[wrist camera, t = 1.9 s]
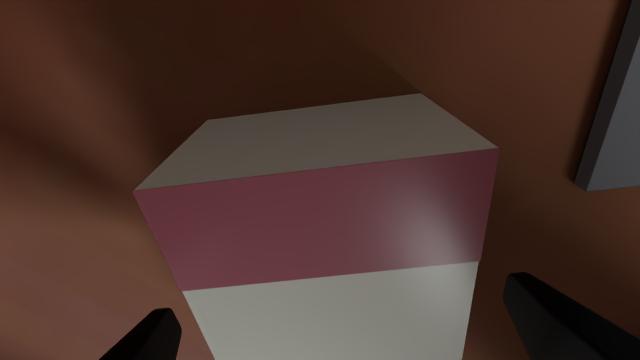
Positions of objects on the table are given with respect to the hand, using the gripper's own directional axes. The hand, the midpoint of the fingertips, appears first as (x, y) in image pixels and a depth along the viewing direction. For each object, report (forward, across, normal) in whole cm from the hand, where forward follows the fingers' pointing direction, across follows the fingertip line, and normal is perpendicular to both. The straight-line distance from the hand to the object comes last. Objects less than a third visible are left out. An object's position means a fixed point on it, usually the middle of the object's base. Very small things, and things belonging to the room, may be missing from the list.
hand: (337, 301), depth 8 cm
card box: (+3, 0, 0) cm, 3 cm away
